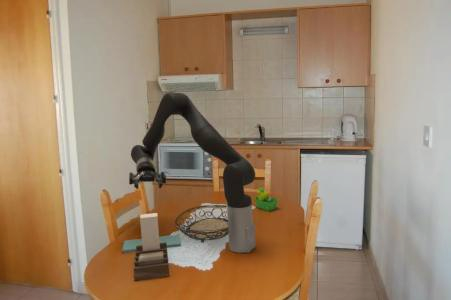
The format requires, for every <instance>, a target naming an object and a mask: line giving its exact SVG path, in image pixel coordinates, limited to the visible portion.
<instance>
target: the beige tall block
mask: <svg viewBox="0 0 451 300" xmlns="http://www.w3.org/2000/svg"><path fill="white" fill-rule="evenodd" d="M139 222H140V233H141V234H140V236H141V239H142V248H143V251H148V250H157V249H160V242H159V237H160V231H159V219H158V213H157V212H154V213H145V214H140V216H139Z"/></svg>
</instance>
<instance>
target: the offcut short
mask: <svg viewBox="0 0 451 300" xmlns="http://www.w3.org/2000/svg"><path fill="white" fill-rule="evenodd" d="M162 253H163V251H162V252H154V253H146V254H140V256H146V255H154V254H162Z"/></svg>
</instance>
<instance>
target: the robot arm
mask: <svg viewBox="0 0 451 300" xmlns="http://www.w3.org/2000/svg"><path fill="white" fill-rule="evenodd" d="M171 116H181V117H182V118H183V119H185V120H186V122H187V123H188V125H189V127H190V129H189V130H190V136H191V137H192V139H193V141H194V142H195V143H196V144H197V145H198V147H200V149H201V150H203V151H204V152H206V153H207V154H208V155H210V156H213V157H214V158H216V159H218V160H220V161H221V162H223V163H224V164H225V166H224V169H223V172H222V183H223V191H224V198H225V201H226V203H227V205H226V212H227V211H228V222H227V226H228V227H227V228H228V230H227V231H228V247H229V250H230V251H231V252H234V253H239V254H240V253H250V252H251V251H252V250H254V249H255V248H256V226H255V223H254V222H253V201H252V196H251V195H249V194H245V189H244V187H245V186H247V185H250V184H252V183H253V182H254V181H255V179H256V171H255V169H254V167H253V165H252V164H251V162H249V161H248V160H247V159H246V158H245V157H243V156H242V155H241V154H240V153H239V152H238V151H237V150H235V148H233V147H232V145H231V144H229V142H228V141H227V140H226V139H225V138H224V137H223V136H222V135H221V134H220V133H219V131H218V130H217V129H216V128H215V127H214V126H213V125H212V124H211V123H210V122H209V120H207V119H206V117H204V115H203V114H202V113H201V112H200V111H199V109H197V107H196V106H195V104H194V103H193V101H192V100H191V99H190V98H189V96H188V95H187V94H185V93H182V92H166V93H165V94H164V95H163V96H162V98H161V100H160V101H159V104H158V106H157V110H156V113H155V115H154V117H153V120H152V123H151V125H150V127H149V129H148V131H147V132H146V134H145V136H144V137H143V138H142V145H140V144H136V145H134V146H133V147H132V148H131V150H130V157H131V160H132V161H133V162H134V164H135V165H136V166H135V171H136V173H135V174H134V173H133V172H129V173H128V174H129V178H128V185H134V187H133V188H135V189H136V190H139V185H140V184H142V183H146V182H148V183H149V182H150V183H153V184H157V185H158V188H159V189H161V188H163V187H164V185H165V184H167V176H166V174H165V172H164V171H160V173H158V172H156V168H155V164H154V162H153V161H154V158H155V155H156V151H157V148H158V146H159V144H160V143H161V142H162V140H163V138H164V135H165V131H166V130H165V125H166V122H167V120H168V119H169V118H170V117H171ZM163 184H164V185H163Z"/></svg>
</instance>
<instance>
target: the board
mask: <svg viewBox="0 0 451 300" xmlns="http://www.w3.org/2000/svg"><path fill="white" fill-rule="evenodd" d="M159 242H160V243H164V242H166V243H167V249H168V248H177V247H181V246H182V243H181V238H180V234H170V235H162V236H161V235H160V236H159ZM138 245H142V238H138V239H137V238H136V239H129V240H128V239H127V240H124V241H123V246H122V250H121V251H122V254H127V253H134V252H136V246H138Z"/></svg>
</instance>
